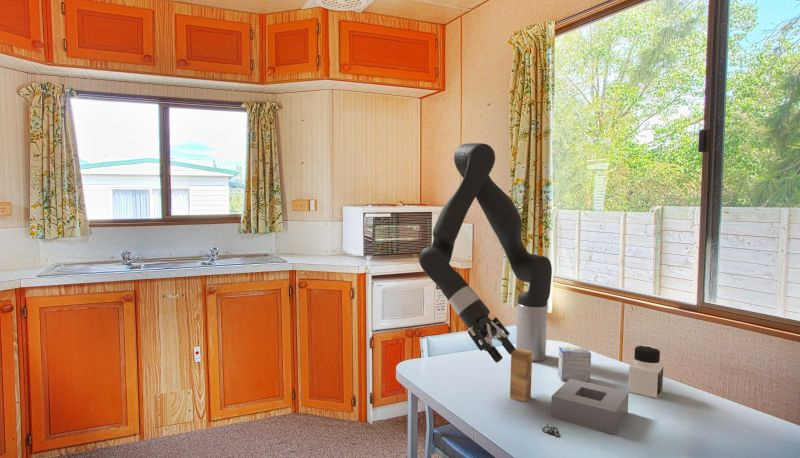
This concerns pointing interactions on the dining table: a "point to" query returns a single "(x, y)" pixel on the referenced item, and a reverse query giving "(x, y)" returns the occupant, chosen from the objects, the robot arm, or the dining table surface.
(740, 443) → the dining table surface
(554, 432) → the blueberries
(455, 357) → the dining table surface
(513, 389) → the wooden peg
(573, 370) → the medicine box
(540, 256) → the robot arm
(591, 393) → the socket block
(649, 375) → the medicine bottle
